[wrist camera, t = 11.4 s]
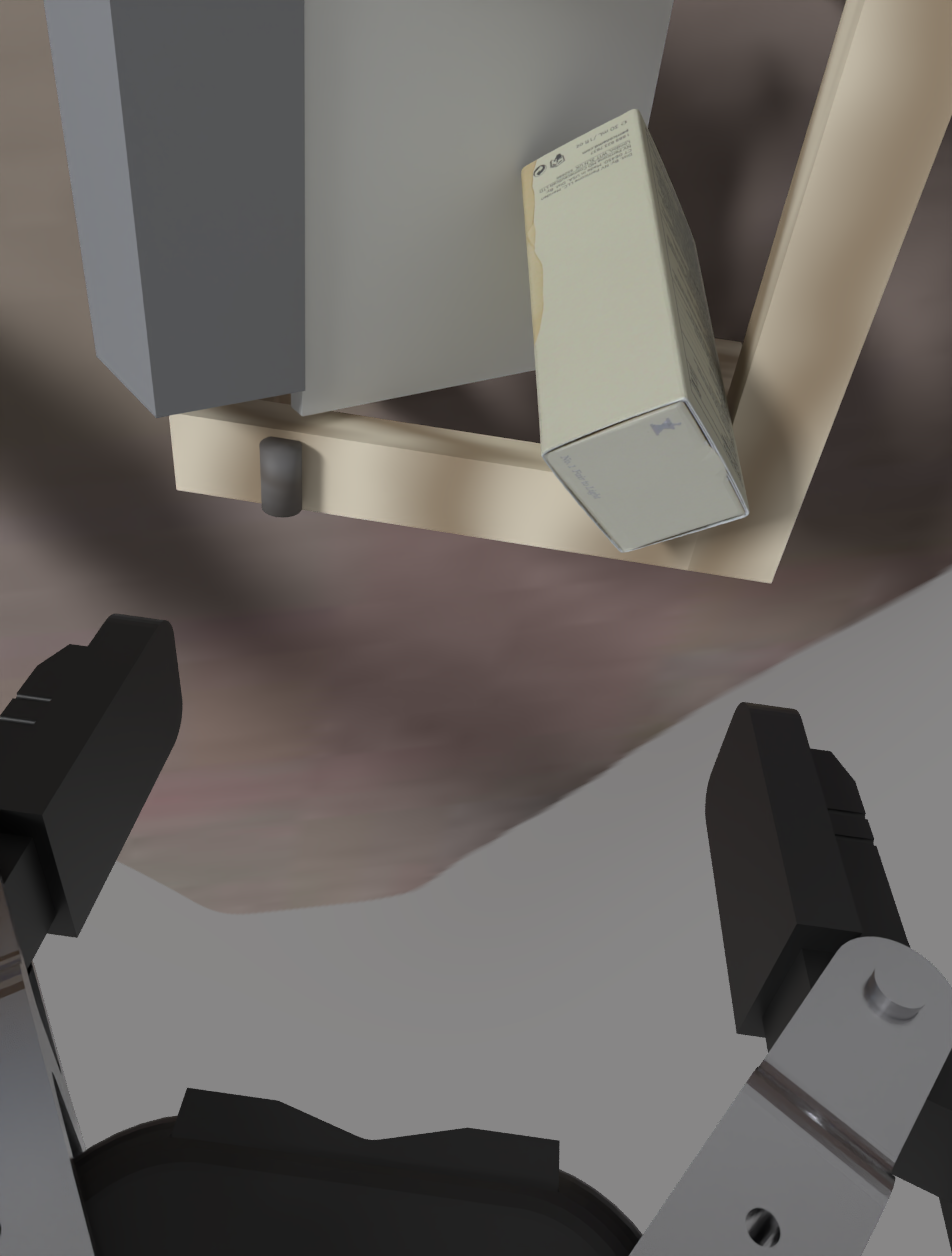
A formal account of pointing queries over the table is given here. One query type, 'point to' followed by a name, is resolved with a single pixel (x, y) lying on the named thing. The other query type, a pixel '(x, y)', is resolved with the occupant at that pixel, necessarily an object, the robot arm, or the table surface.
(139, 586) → the table surface
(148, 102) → the grey flat block
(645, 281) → the skincare box
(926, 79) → the stand
